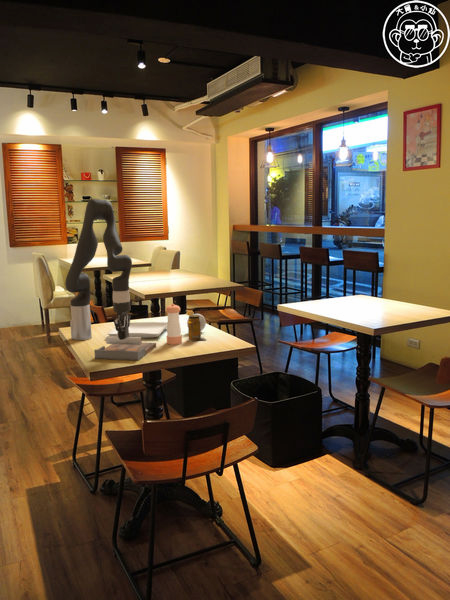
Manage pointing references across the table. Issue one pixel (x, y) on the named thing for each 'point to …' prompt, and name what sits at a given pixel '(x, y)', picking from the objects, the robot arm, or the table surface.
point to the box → (119, 354)
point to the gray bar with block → (126, 340)
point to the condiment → (194, 328)
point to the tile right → (132, 349)
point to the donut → (202, 321)
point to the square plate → (143, 329)
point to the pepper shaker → (173, 325)
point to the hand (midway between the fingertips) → (123, 338)
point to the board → (134, 346)
